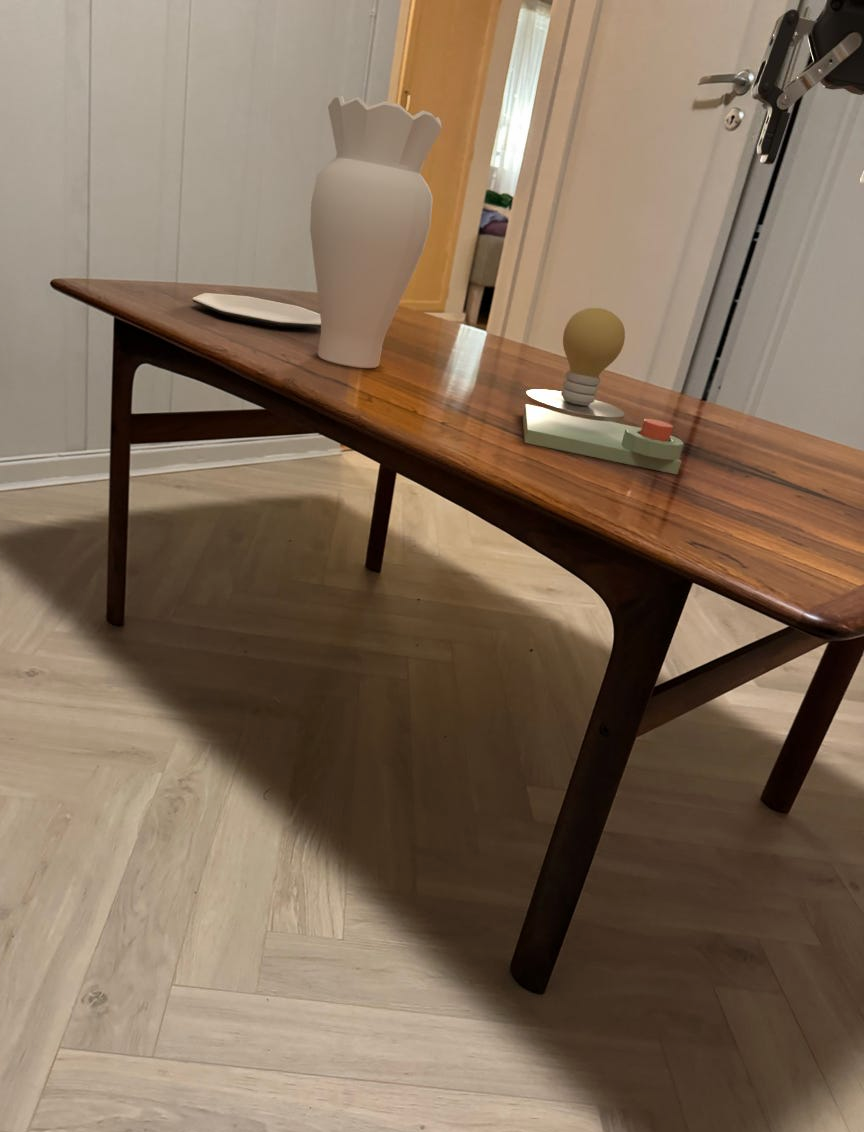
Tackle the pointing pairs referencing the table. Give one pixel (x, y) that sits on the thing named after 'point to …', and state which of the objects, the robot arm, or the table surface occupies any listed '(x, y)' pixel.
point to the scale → (600, 440)
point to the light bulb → (589, 352)
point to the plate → (259, 310)
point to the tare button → (656, 429)
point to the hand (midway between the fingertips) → (817, 173)
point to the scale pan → (574, 406)
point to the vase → (369, 224)
